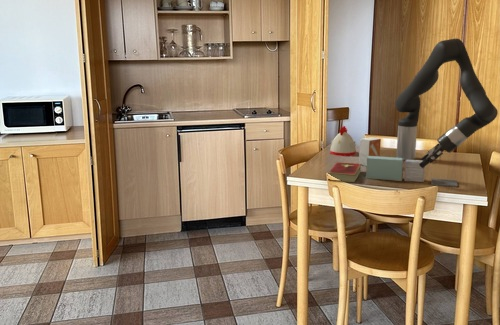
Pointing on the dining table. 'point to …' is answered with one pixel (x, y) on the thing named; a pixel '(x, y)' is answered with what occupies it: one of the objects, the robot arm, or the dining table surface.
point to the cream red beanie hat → (343, 144)
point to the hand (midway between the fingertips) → (420, 164)
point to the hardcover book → (345, 171)
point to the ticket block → (384, 168)
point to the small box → (368, 149)
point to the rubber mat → (444, 182)
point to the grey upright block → (414, 171)
